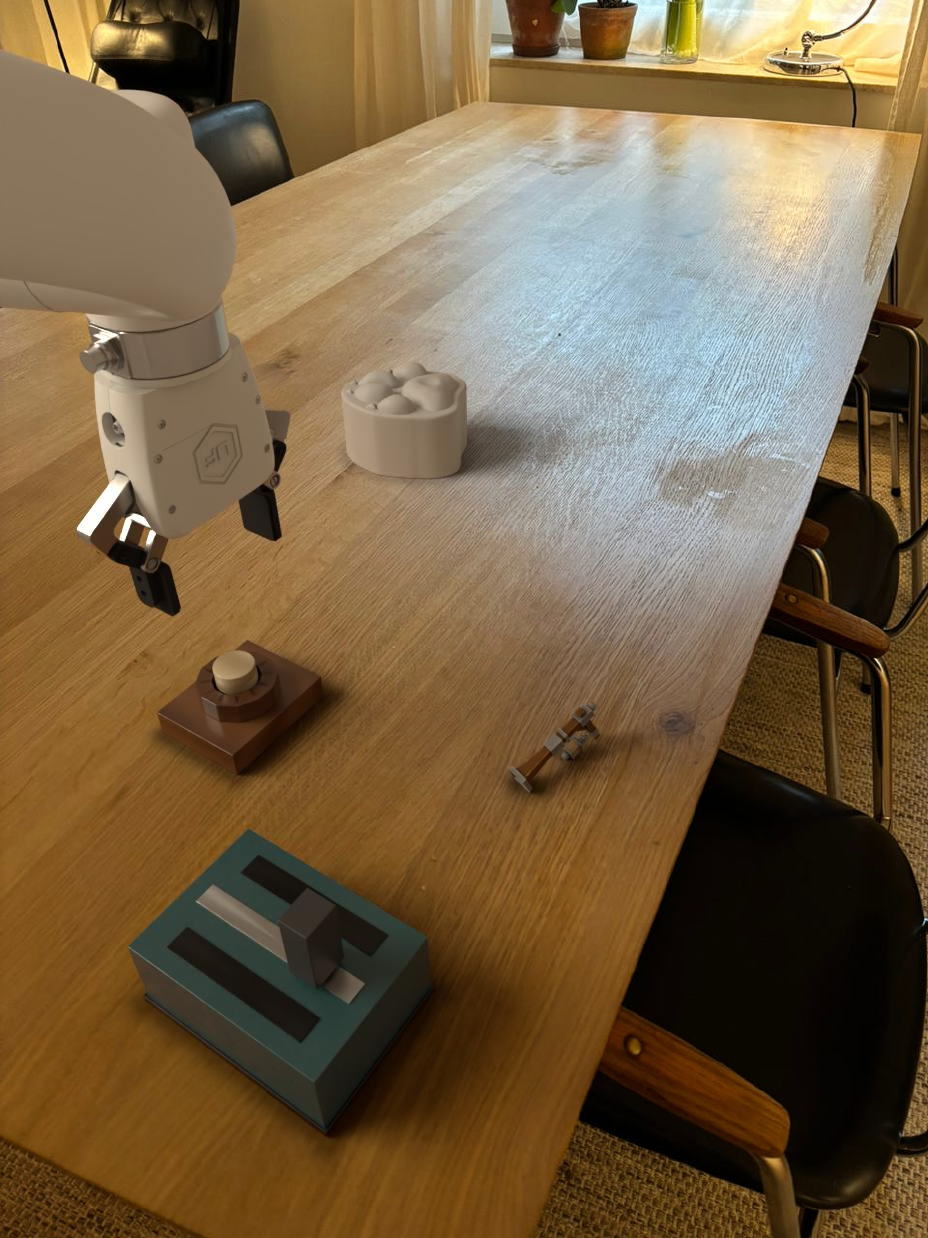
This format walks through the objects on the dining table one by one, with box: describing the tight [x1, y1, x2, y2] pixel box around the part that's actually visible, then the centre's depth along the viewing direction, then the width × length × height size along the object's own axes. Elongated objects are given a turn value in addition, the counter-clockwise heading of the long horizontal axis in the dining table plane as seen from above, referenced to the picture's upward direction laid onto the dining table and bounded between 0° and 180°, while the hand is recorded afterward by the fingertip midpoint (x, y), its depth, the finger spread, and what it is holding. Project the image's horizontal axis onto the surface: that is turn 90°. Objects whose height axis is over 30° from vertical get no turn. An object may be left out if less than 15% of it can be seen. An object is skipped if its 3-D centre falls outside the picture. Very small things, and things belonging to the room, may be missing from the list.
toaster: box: [127, 828, 437, 1138], centre depth 59 cm, size 10×14×6 cm
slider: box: [278, 888, 344, 990], centre depth 53 cm, size 2×2×5 cm
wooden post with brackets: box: [506, 701, 602, 793], centre depth 74 cm, size 2×8×4 cm, turn 127°
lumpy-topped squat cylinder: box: [340, 361, 468, 480], centre depth 106 cm, size 10×13×9 cm
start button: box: [213, 650, 258, 695], centre depth 76 cm, size 3×3×2 cm
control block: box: [156, 639, 325, 776], centre depth 77 cm, size 10×8×4 cm
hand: (214, 568), depth 68 cm, fingers open, 9 cm apart
